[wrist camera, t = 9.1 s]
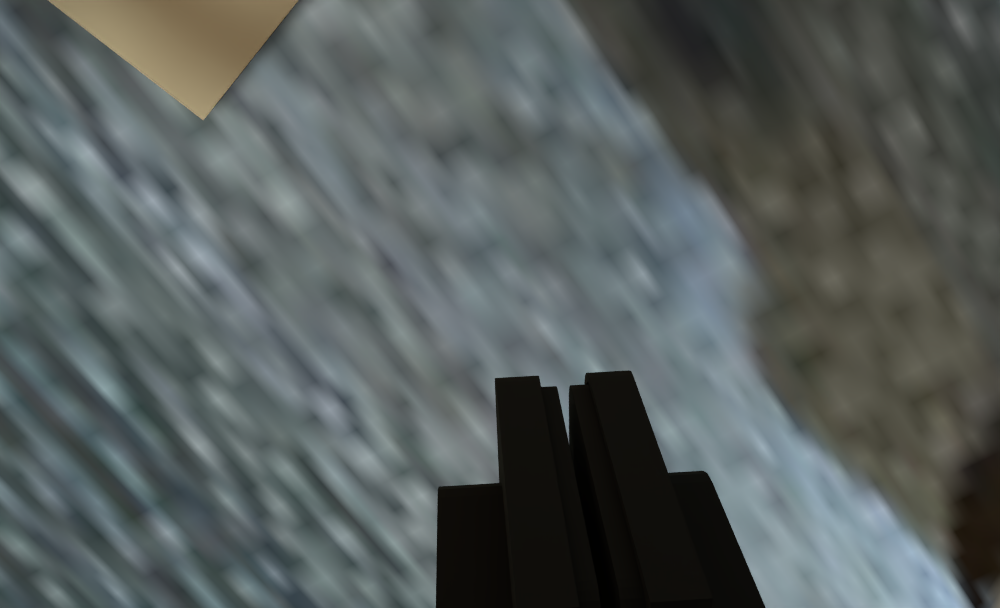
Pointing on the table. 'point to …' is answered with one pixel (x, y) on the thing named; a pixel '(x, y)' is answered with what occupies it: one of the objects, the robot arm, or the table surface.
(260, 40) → the mounting board
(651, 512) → the robot arm
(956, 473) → the table surface
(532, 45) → the table surface
